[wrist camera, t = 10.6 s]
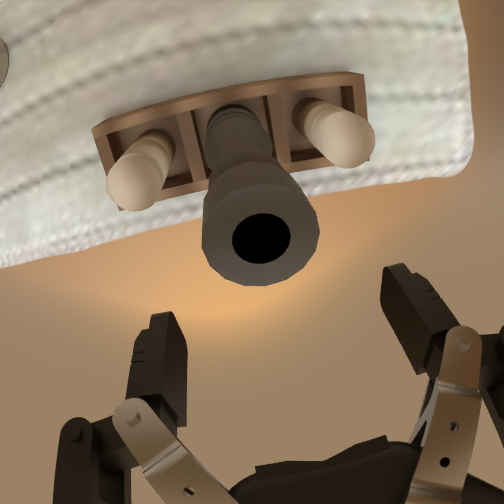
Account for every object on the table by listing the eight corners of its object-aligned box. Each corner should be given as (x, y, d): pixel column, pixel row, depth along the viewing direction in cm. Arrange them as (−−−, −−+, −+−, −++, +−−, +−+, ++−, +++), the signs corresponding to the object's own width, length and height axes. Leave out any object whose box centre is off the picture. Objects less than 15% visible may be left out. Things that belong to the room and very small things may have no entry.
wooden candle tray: (128, 194, 40) (100, 247, 29) (104, 120, 34) (60, 149, 23) (353, 148, 40) (402, 186, 29) (346, 71, 34) (400, 81, 23)
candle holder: (270, 125, 36) (349, 228, 16) (236, 163, 39) (267, 307, 18) (229, 93, 34) (253, 149, 13) (195, 134, 36) (170, 252, 15)
